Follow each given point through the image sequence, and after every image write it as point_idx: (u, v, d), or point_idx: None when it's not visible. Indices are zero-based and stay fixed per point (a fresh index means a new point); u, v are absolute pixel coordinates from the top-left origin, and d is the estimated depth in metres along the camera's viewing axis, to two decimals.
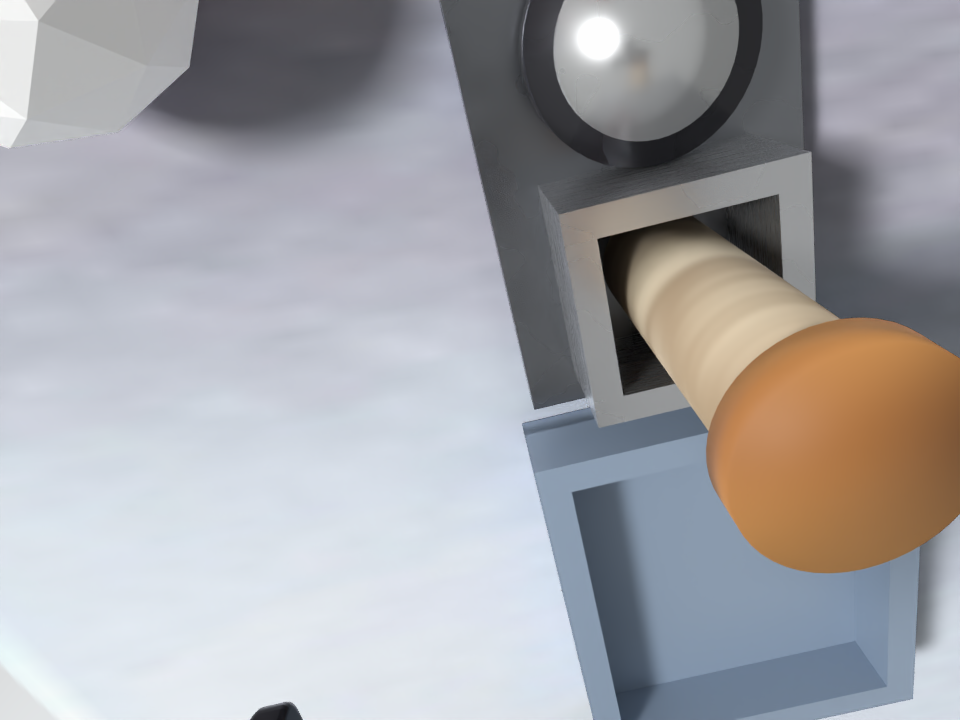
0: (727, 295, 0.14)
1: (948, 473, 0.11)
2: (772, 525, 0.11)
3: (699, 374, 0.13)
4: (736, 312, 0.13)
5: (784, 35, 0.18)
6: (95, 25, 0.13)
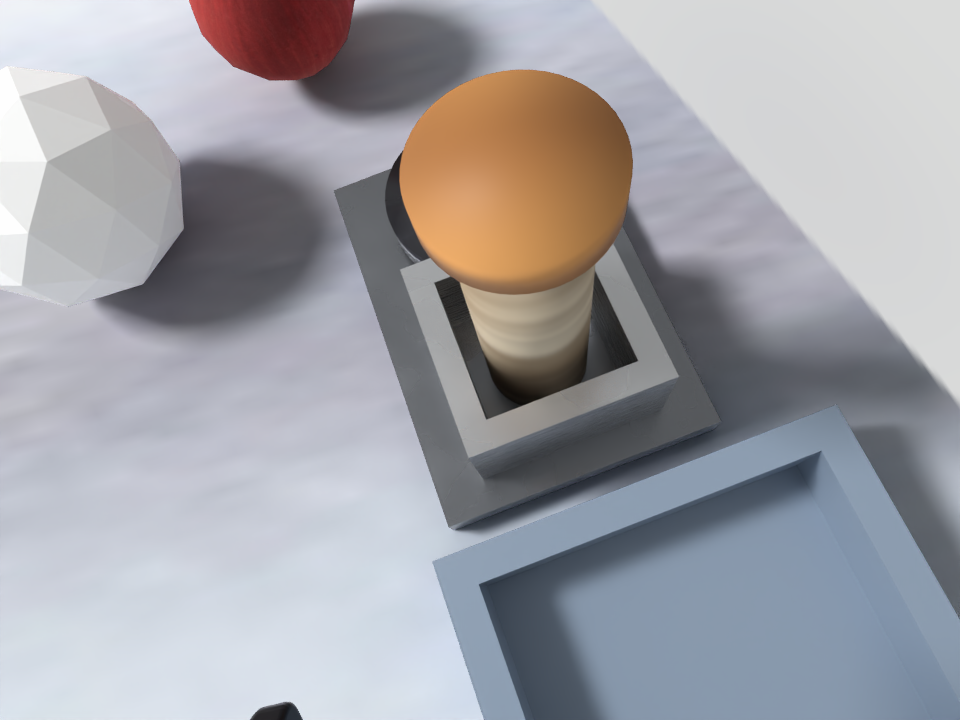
0: None
1: (595, 159, 0.13)
2: (452, 227, 0.12)
3: None
4: None
5: None
6: (84, 175, 0.21)
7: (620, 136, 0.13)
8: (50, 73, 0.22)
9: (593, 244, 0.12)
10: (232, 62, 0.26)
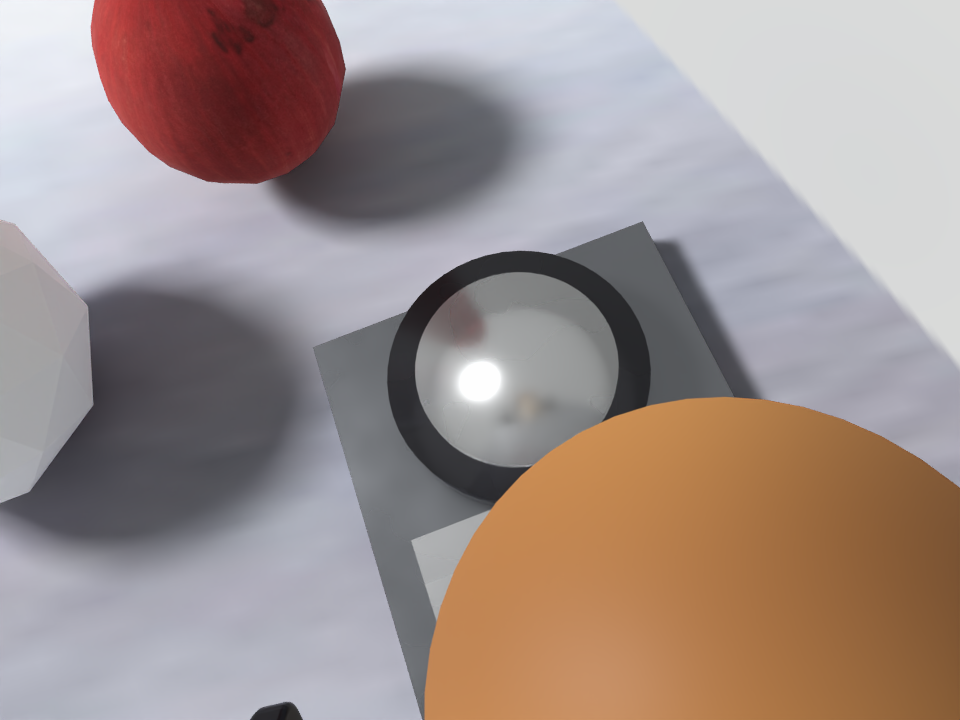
0: None
1: None
2: None
3: None
4: None
5: (692, 354, 0.17)
6: None
7: None
8: None
9: None
10: (167, 163, 0.18)
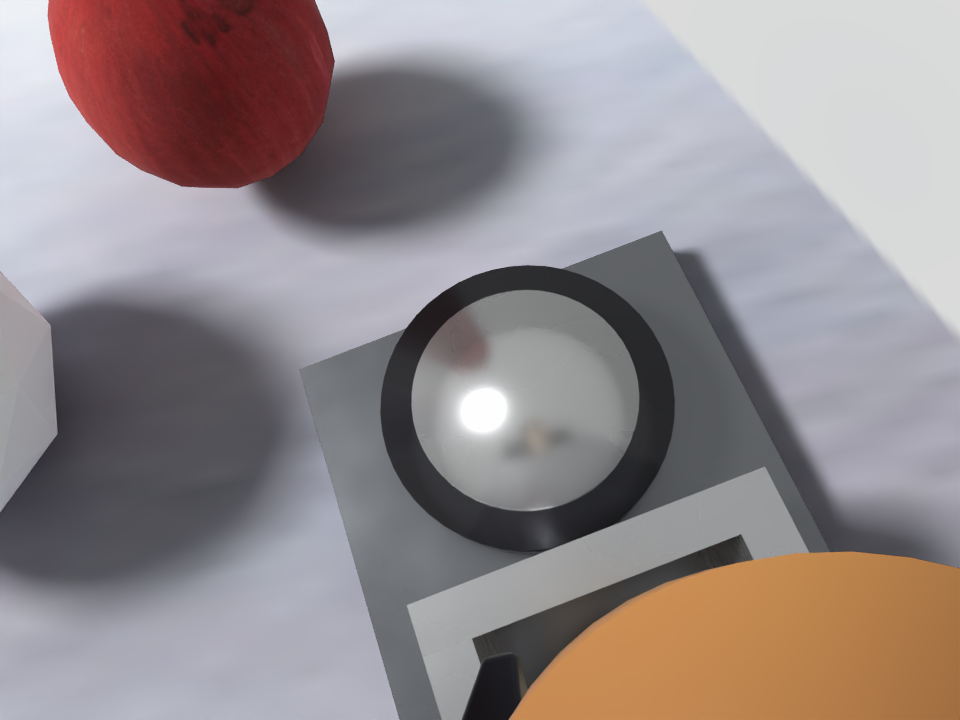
0: None
1: None
2: None
3: None
4: None
5: (718, 380, 0.15)
6: None
7: None
8: None
9: None
10: (137, 165, 0.16)
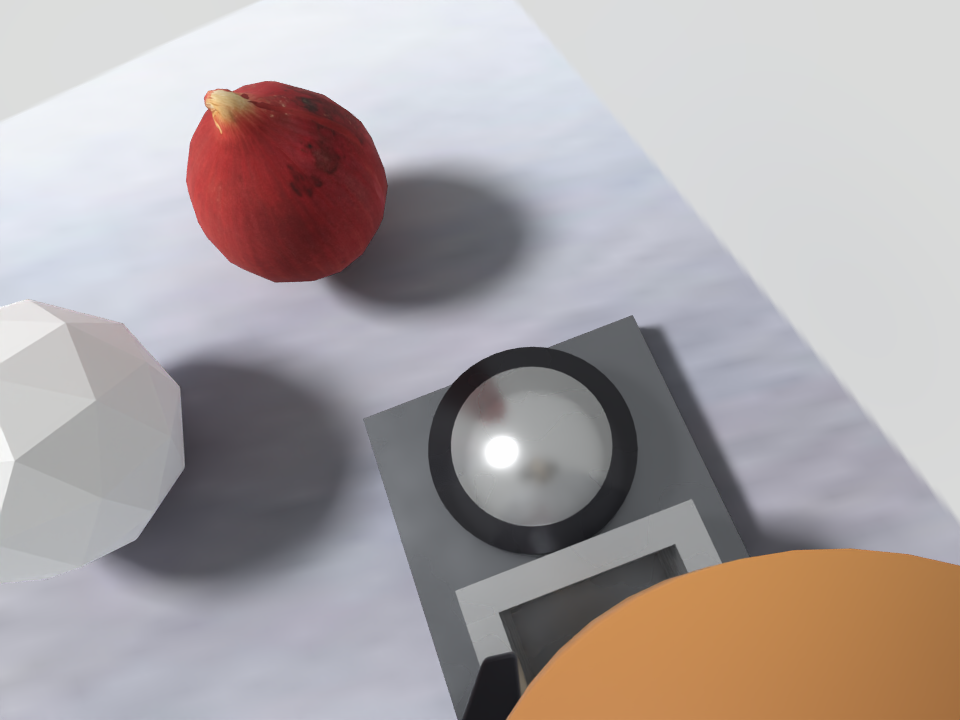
0: None
1: None
2: None
3: None
4: None
5: (672, 429, 0.21)
6: (62, 466, 0.17)
7: None
8: (21, 324, 0.18)
9: None
10: (243, 268, 0.22)
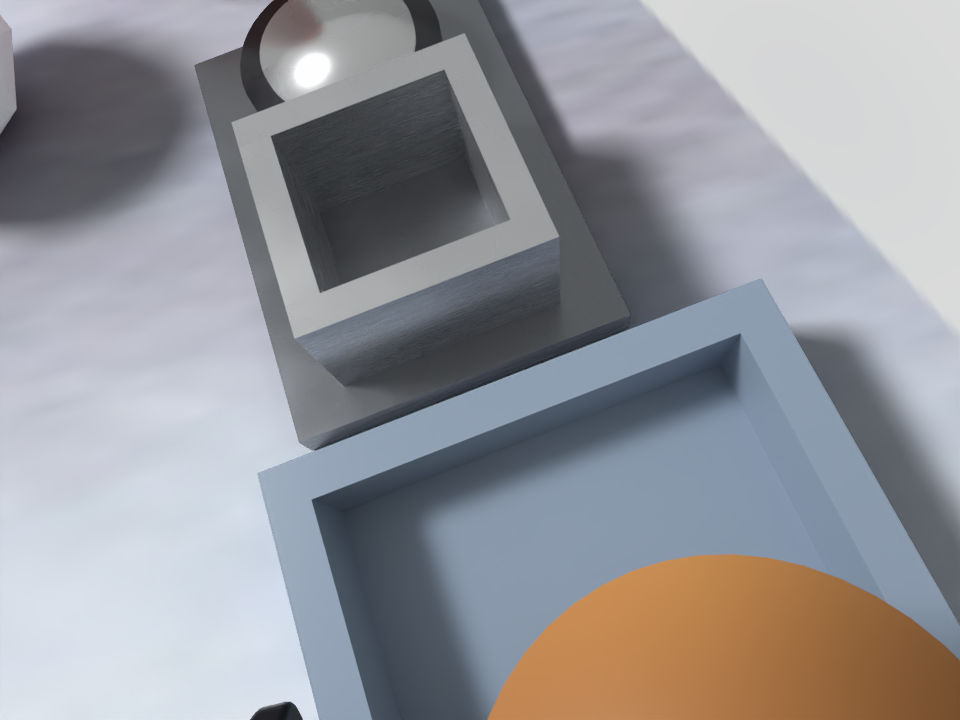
0: None
1: None
2: None
3: None
4: None
5: (489, 54, 0.21)
6: None
7: None
8: None
9: None
10: None
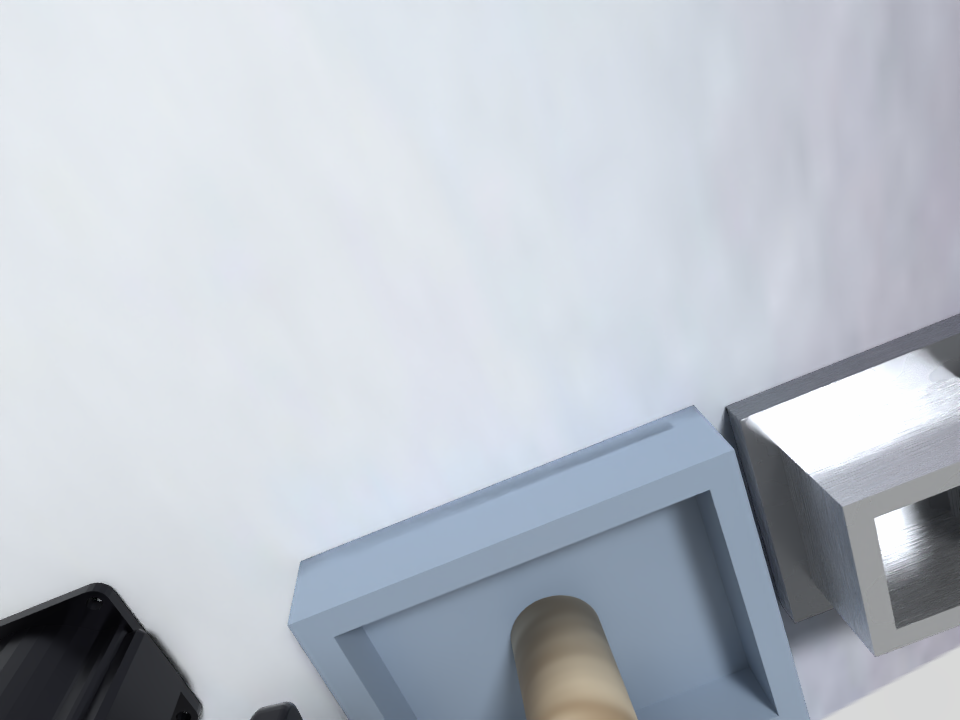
0: None
1: None
2: None
3: None
4: None
5: None
6: None
7: None
8: None
9: None
10: None
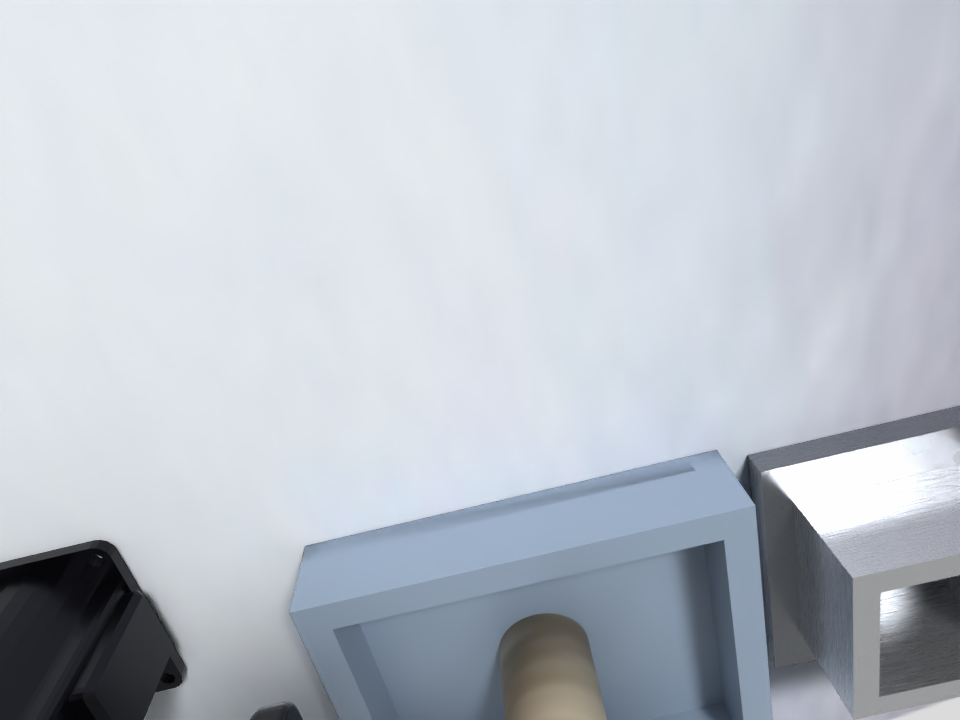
0: None
1: None
2: None
3: None
4: None
5: None
6: None
7: None
8: None
9: None
10: None
